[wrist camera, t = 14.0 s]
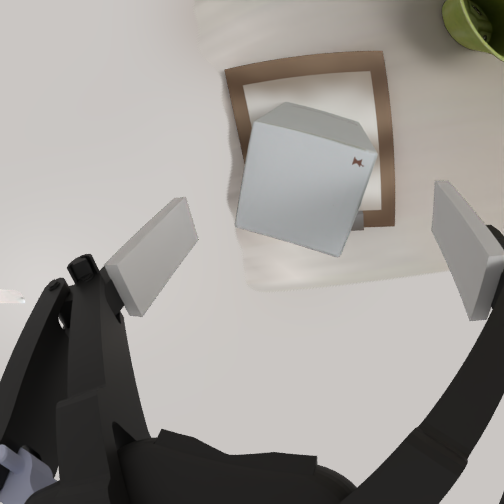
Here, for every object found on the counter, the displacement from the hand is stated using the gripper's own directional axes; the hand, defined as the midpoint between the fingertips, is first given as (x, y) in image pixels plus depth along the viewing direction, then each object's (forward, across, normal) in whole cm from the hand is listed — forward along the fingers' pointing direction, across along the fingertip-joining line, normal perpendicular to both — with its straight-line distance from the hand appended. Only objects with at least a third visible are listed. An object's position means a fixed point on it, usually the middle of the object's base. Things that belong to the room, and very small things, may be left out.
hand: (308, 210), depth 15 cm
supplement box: (+15, -1, 0) cm, 15 cm away
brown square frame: (+17, 0, 0) cm, 17 cm away
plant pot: (+17, +18, +13) cm, 28 cm away
